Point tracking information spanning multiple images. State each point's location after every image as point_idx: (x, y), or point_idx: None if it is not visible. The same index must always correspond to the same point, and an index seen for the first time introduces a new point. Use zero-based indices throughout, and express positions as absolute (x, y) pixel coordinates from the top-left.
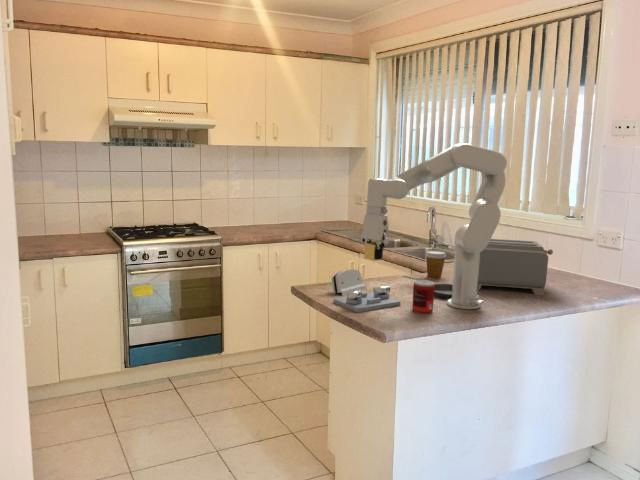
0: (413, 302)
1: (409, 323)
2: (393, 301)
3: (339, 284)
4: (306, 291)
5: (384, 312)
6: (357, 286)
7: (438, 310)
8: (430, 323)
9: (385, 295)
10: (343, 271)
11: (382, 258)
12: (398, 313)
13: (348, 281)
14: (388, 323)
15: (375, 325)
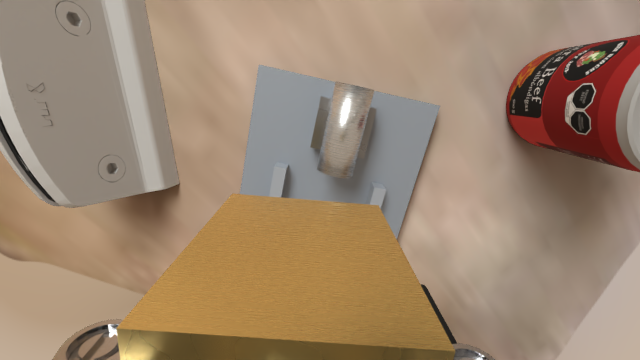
0: (544, 144)
1: (568, 266)
2: (417, 134)
3: (121, 192)
4: (48, 247)
5: (438, 234)
6: (129, 60)
7: (607, 34)
8: (633, 215)
9: (369, 131)
10: (31, 151)
11: (380, 212)
12: (485, 205)
13: (99, 118)
14: (511, 312)
15: (489, 350)
